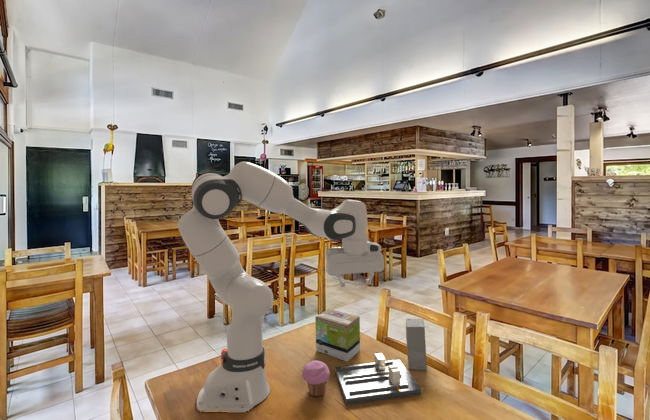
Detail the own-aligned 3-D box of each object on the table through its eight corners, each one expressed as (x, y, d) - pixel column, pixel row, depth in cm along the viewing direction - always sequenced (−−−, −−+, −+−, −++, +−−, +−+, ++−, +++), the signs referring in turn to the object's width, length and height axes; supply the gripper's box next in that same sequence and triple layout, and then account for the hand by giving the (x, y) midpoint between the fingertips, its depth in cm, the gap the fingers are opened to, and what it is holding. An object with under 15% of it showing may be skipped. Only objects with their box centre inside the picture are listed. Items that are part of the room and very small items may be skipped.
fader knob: (392, 385, 108) (392, 371, 108) (388, 378, 112) (388, 364, 112) (400, 384, 109) (400, 370, 108) (395, 377, 113) (395, 363, 112)
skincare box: (427, 371, 120) (427, 327, 118) (406, 369, 121) (406, 326, 120) (425, 358, 128) (425, 318, 127) (405, 357, 130) (405, 317, 128)
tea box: (315, 352, 135) (314, 316, 134) (329, 341, 144) (328, 307, 142) (347, 362, 127) (347, 324, 125) (360, 351, 135) (360, 315, 134)
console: (346, 404, 103) (346, 383, 103) (335, 372, 121) (334, 353, 120) (421, 394, 107) (421, 374, 106) (399, 364, 125) (399, 346, 124)
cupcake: (332, 398, 106) (332, 368, 105) (305, 403, 105) (304, 372, 104) (327, 382, 115) (326, 353, 114) (301, 386, 113) (300, 357, 112)
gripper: (326, 249, 113) (327, 290, 114) (385, 246, 117) (386, 285, 118) (323, 246, 119) (324, 284, 121) (379, 243, 123) (380, 280, 124)
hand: (355, 285), depth 119 cm, fingers open, 8 cm apart
